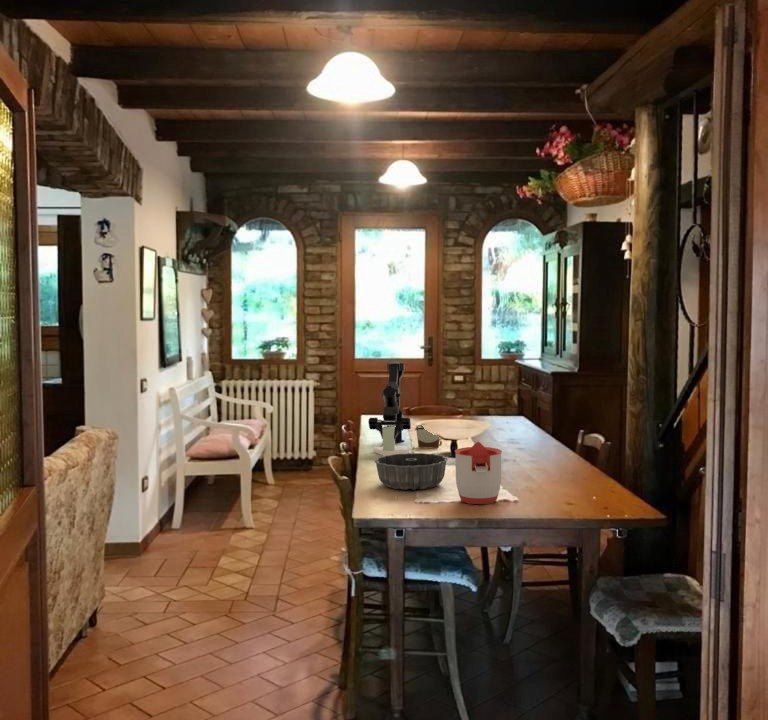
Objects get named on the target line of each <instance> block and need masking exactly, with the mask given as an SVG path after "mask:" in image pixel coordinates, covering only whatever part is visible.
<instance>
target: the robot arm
mask: <svg viewBox="0 0 768 720" xmlns="http://www.w3.org/2000/svg"><path fill="white" fill-rule="evenodd" d="M405 369H406V366H405V363H403V361H389V363H386V371H387V372H388V383H387V384H385V387H384V389H383V391H382V394H381V395H382V398H383V401H384V406H383V407H382V419H379V418H378V417H369V418H368V427H369V430H375V431H377V432H379V434H380V437H381V439H382V440H383V430H382V428H383V427H384V426H395V433H394V439H395V443H401V442H402V443H404V442H405V440H404V439H403V431H404V430H411V427H412V425H411V424H412V423H411V418H410V417H405V416H404V415H403V414H404V413H403V412H402V410H401V396H402V392H401V380H402V377H403V376H404V372H405Z"/></svg>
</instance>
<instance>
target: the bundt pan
mask: <svg viewBox="0 0 768 720" xmlns="http://www.w3.org/2000/svg"><path fill="white" fill-rule="evenodd" d="M447 460H448V457H445V455H440V454H435V453H426V452H425V453H424V452H423V453H422V452H421V453H420V452H415V453H413V452H412V453H411V452H409V453H406V454H393V455H387V456H383V455H382V456H379V457H377V458H376V459H375V460H374V463H375V464H376V470H377V475H378V479H379V481H380V482H381V483H382V484H383V485H384V486H386V487H388V488H391V489H394V490H403V491H407V490H412V491H416V490H417V489H418V490H425V489H432V488H434V487H436V486H438V485H440V484H441V482H442V481H443V479H444V478H445V474H446V466H447V465H446V464H447Z"/></svg>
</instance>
